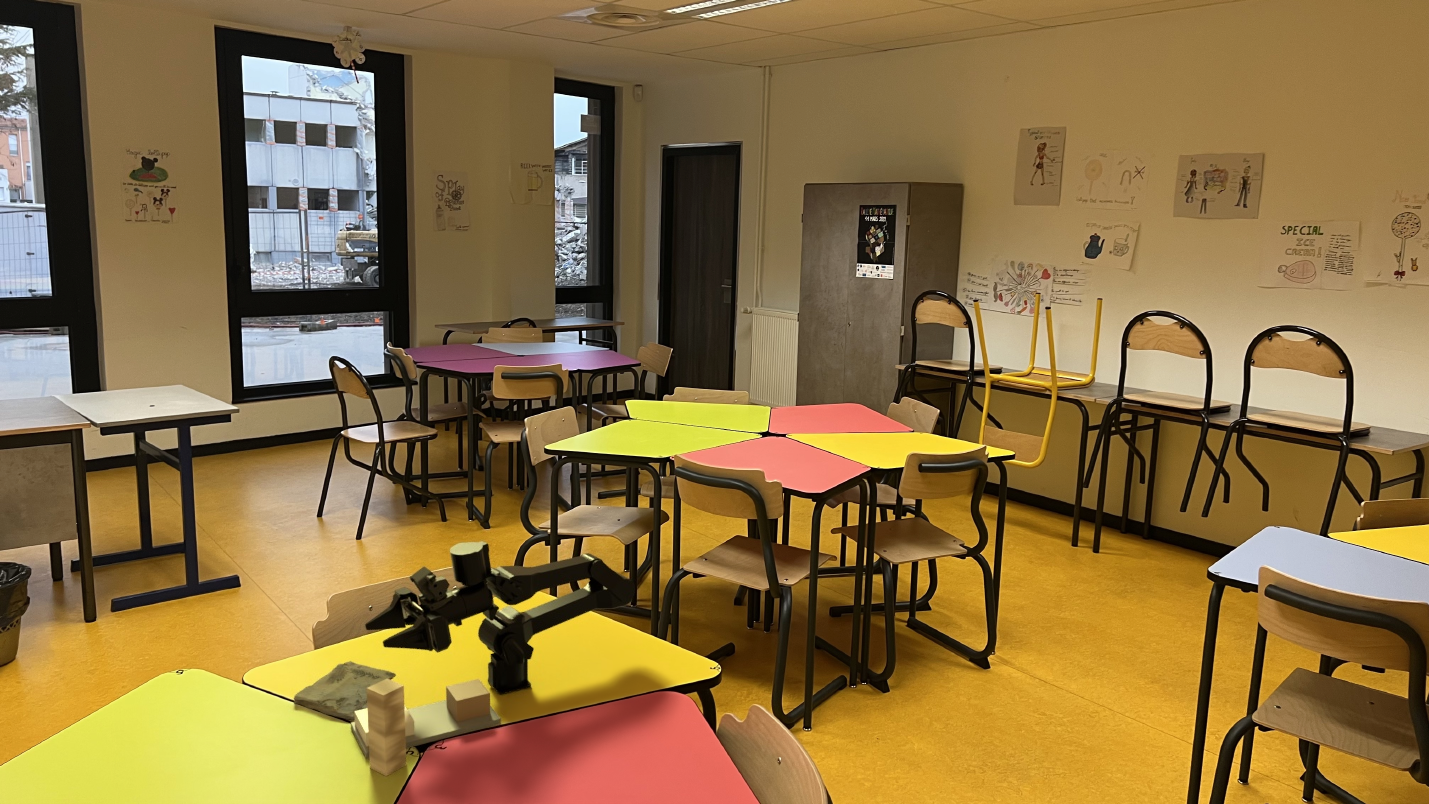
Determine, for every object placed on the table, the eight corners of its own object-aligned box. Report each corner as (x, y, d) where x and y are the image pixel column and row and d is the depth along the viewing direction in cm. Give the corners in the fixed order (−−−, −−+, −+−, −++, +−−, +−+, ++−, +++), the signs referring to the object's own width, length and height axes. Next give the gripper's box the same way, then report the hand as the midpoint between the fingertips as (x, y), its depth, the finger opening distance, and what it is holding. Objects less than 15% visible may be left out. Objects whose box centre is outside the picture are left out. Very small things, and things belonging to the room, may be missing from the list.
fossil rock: (340, 669, 195) (340, 658, 195) (410, 680, 192) (410, 668, 192) (283, 712, 178) (283, 700, 178) (359, 724, 175) (359, 712, 175)
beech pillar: (389, 756, 165) (387, 678, 162) (406, 764, 163) (403, 685, 160) (369, 767, 161) (366, 688, 159) (386, 776, 159) (383, 695, 157)
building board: (479, 696, 185) (479, 671, 184) (500, 723, 176) (500, 697, 175) (350, 727, 173) (349, 701, 172) (366, 758, 164) (365, 730, 163)
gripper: (432, 549, 186) (348, 577, 177) (473, 577, 171) (383, 608, 162) (442, 604, 189) (360, 634, 180) (483, 636, 174) (396, 670, 165)
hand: (374, 635), depth 172 cm, fingers open, 9 cm apart
